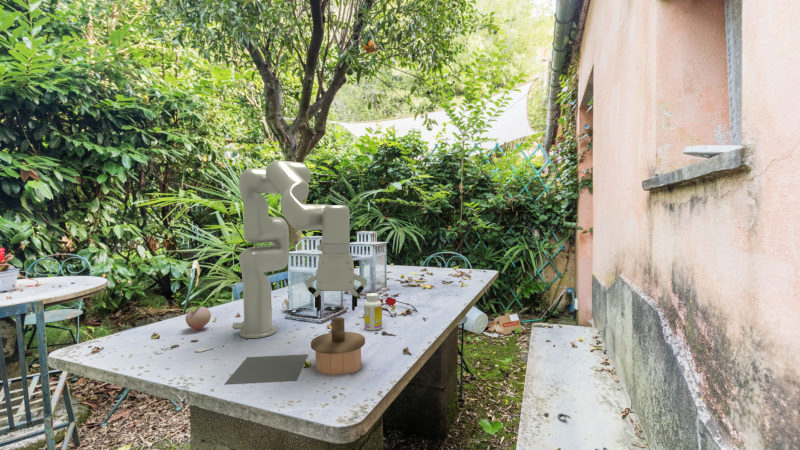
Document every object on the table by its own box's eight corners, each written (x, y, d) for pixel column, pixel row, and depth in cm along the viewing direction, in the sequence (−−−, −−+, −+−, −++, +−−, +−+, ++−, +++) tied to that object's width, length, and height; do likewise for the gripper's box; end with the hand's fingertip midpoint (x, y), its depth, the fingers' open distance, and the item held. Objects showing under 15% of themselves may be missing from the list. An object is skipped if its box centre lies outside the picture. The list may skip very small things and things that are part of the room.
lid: (307, 355, 96) (306, 328, 96) (314, 336, 111) (314, 313, 111) (365, 352, 98) (364, 325, 97) (365, 334, 113) (364, 311, 112)
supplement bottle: (383, 325, 142) (382, 292, 142) (380, 331, 136) (380, 296, 135) (366, 325, 143) (365, 292, 143) (362, 331, 136) (362, 296, 136)
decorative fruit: (209, 332, 138) (208, 305, 138) (184, 335, 135) (183, 308, 135) (212, 325, 147) (211, 300, 147) (188, 328, 144) (187, 302, 143)
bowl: (313, 377, 98) (312, 352, 98) (319, 359, 110) (319, 337, 110) (360, 374, 99) (360, 350, 99) (361, 357, 111) (361, 335, 111)
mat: (223, 386, 93) (223, 384, 93) (247, 359, 111) (247, 357, 111) (296, 382, 95) (296, 380, 95) (308, 356, 113) (308, 354, 113)
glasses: (395, 305, 175) (394, 295, 175) (418, 312, 162) (417, 301, 162) (370, 310, 166) (370, 299, 166) (392, 318, 153) (392, 306, 153)
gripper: (302, 251, 99) (302, 314, 100) (367, 250, 101) (367, 313, 102) (306, 248, 107) (307, 306, 108) (367, 247, 108) (367, 305, 109)
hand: (336, 309), depth 105 cm, fingers open, 9 cm apart
